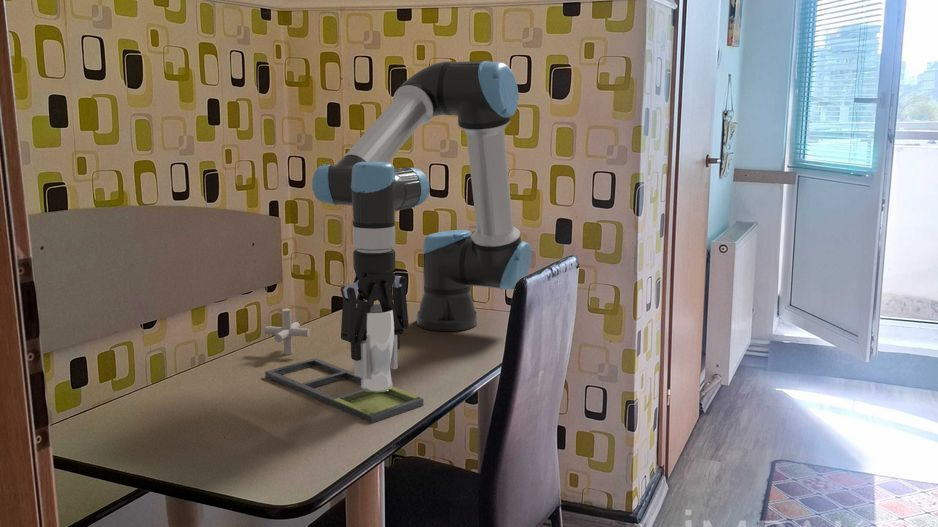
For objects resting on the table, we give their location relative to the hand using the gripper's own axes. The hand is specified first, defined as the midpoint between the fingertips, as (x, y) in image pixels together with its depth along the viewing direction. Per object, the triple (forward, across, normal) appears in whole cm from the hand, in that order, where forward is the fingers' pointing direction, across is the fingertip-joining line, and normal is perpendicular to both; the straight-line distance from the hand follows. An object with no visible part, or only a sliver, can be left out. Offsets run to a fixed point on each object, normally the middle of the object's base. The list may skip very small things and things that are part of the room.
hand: (376, 371), depth 158 cm
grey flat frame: (+7, 0, -11) cm, 13 cm away
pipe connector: (+7, -6, -38) cm, 39 cm away
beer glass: (+3, 0, 0) cm, 3 cm away
